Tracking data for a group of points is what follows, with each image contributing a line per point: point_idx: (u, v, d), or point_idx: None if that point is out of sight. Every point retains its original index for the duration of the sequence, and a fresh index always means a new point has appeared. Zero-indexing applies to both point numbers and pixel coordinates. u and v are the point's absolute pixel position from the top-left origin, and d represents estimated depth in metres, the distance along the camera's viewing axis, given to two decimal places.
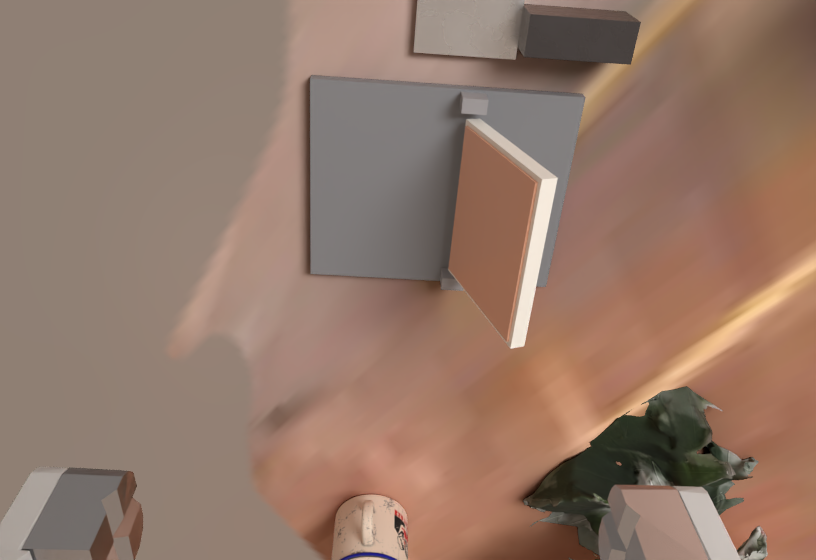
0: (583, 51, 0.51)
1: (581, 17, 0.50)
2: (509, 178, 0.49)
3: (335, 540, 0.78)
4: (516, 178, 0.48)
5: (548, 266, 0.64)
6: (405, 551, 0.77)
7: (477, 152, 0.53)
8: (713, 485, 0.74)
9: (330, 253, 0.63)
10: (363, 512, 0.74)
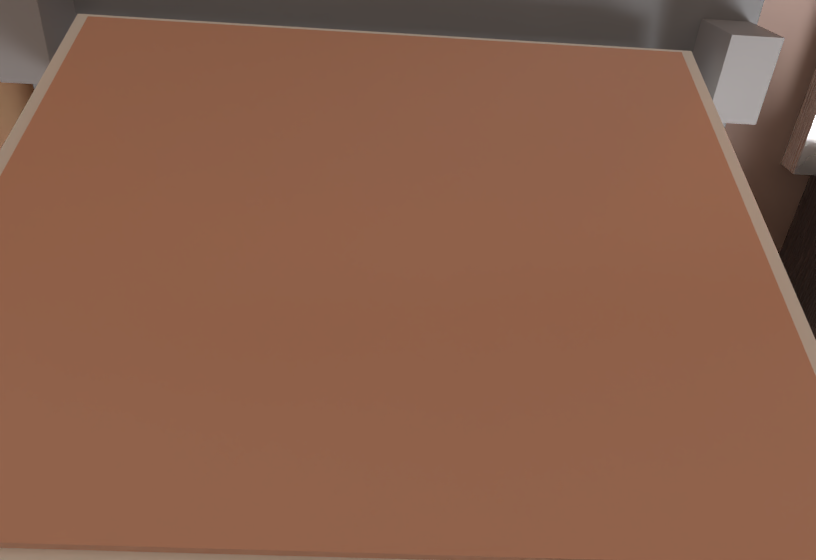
0: None
1: None
2: (731, 340, 0.11)
3: None
4: (775, 394, 0.10)
5: None
6: None
7: (652, 120, 0.14)
8: None
9: None
10: None
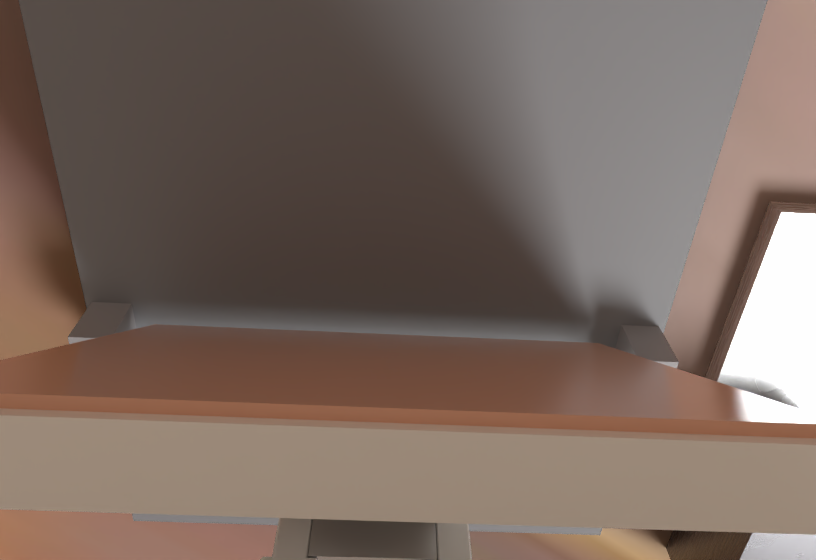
0: None
1: None
2: (670, 383, 0.13)
3: None
4: (715, 393, 0.12)
5: (192, 519, 0.26)
6: None
7: (582, 350, 0.18)
8: None
9: None
10: None
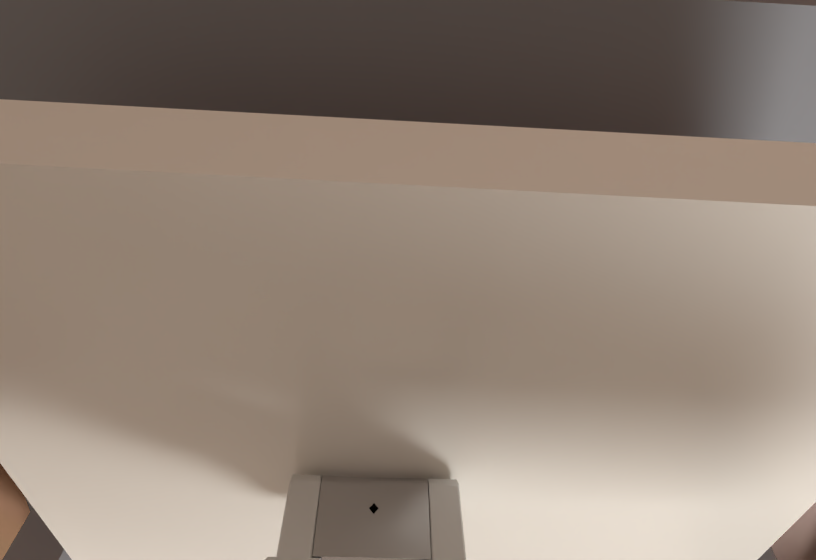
0: None
1: None
2: None
3: None
4: None
5: None
6: None
7: None
8: None
9: (20, 80, 0.11)
10: None
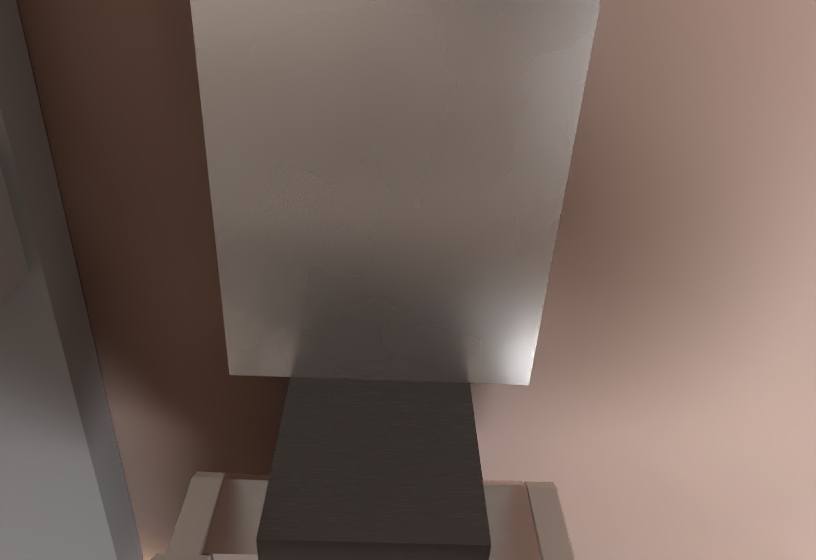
0: None
1: None
2: None
3: None
4: None
5: None
6: None
7: None
8: None
9: None
10: None
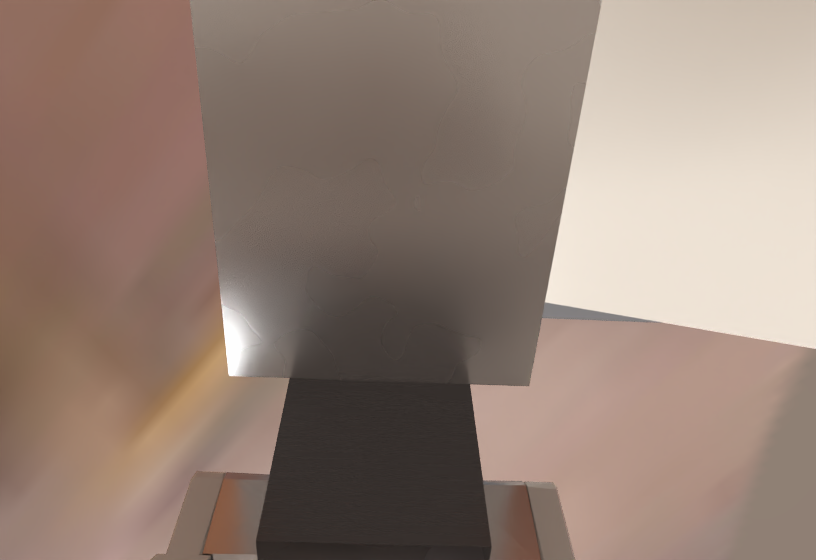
0: None
1: None
2: None
3: None
4: None
5: None
6: None
7: None
8: None
9: None
10: None
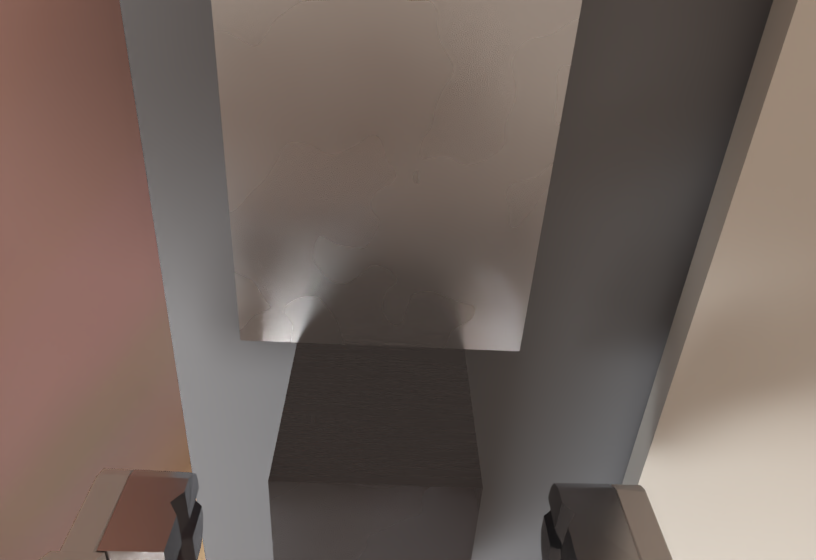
0: None
1: None
2: None
3: None
4: None
5: None
6: None
7: None
8: None
9: None
10: None
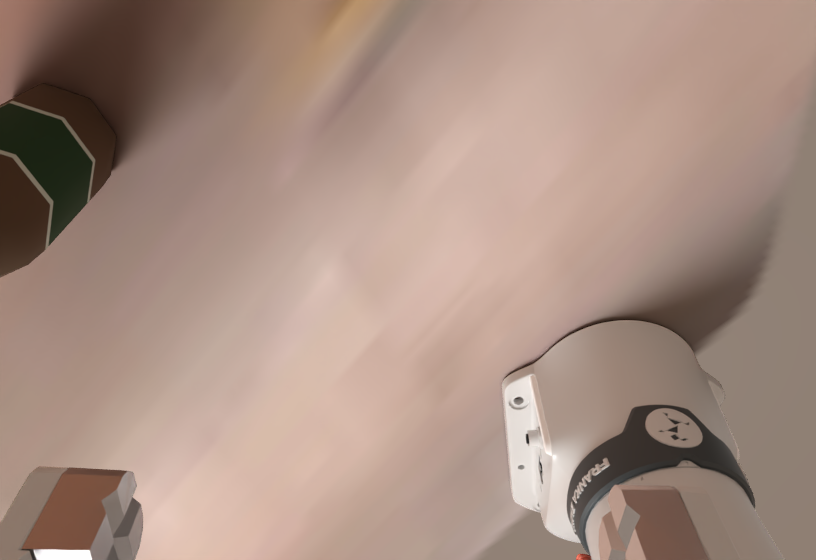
0: None
1: None
2: None
3: None
4: None
5: None
6: None
7: None
8: None
9: None
10: None
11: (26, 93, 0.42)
